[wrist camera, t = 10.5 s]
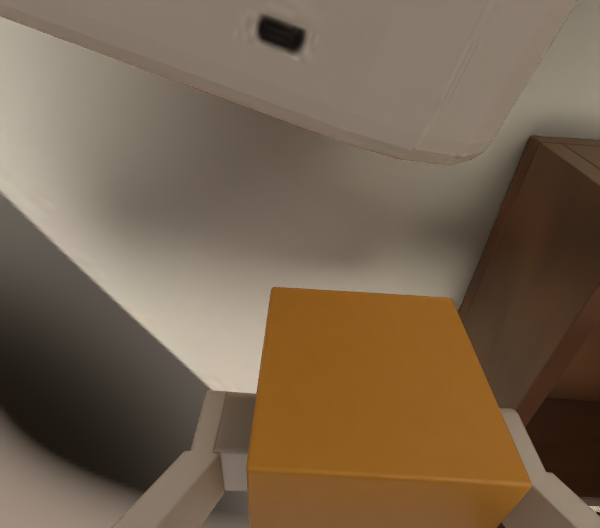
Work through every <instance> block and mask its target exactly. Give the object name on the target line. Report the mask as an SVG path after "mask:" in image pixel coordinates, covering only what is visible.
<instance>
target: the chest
mask: <svg viewBox="0 0 600 528" xmlns="http://www.w3.org/2000/svg"><path fill="white" fill-rule="evenodd" d="M458 314H459V317H460V319H461V321H462V324H463V326H464V328H465V331H466V333H467V335H468V337H469V340H470V342H471V344H472V347H473V349H474V351H475V354H476V356H477V358H478V360H479V363H480V365H481V367H482V370H483V372H484V374H485V377H486V379H487V381H488V383H489V386H490V388H491V390H492V393H493V395H494V397H495V400H496V402H497V404H498V406H499V408H511V409H514V410H515V411H516V412H517V413H518V415H519V417H520V419H521V421H522V423H523V425H524V427H525V429H526V431H527V433H528V436H529V438H530V440H531V442H532V444H533V446H534V448H535V450H536V452H537V454H538V456H539V458H540V460H541V462H542V465H543V467H544V469H545V471H546V472H549V473H553V474H554V475H555V476H556V477H557V478H558V479H560V480H561V481H562V482H563V483H564V484H565V485H566V486H567V487H568V488H569V489H570V490H572V491H573V492H574V493H575V494H576V495H577V496H578V497H579V498H580V499H581V500H582V501H584V502H585V503H586V504H587V505H588V506H600V140H591V139H576V138H561V137H546V136H531V137H530V138H529V141H528V143H527V146H526V148H525V151H524V153H523V156H522V158H521V161H520V163H519V165H518V168H517V170H516V173H515V175H514V178H513V180H512V183H511V185H510V188H509V190H508V193H507V195H506V198H505V200H504V202H503V205H502V207H501V210H500V212H499V215H498V217H497V220H496V222H495V225H494V227H493V230H492V232H491V235H490V237H489V239H488V242H487V244H486V247H485V249H484V252H483V254H482V257H481V259H480V262H479V264H478V267H477V269H476V272H475V274H474V276H473V279H472V281H471V284H470V286H469V289H468V291H467V294H466V296H465V299H464V301H463V304H462V306H461V309H460V311H459V313H458Z"/></svg>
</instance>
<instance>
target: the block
mask: <svg viewBox="0 0 600 528" xmlns="http://www.w3.org/2000/svg"><path fill="white" fill-rule="evenodd" d="M246 473H247V493H248V513H249V528H497V527H498V526H499V524H500V523H501V522H502V521H503V520H504V519H505V517H506V516H507V515H508V514H509V513H510V512H511V510H512V509H513V508H514V507H515V506H516V505H517V503H518V502H519V501H520V500H521V499H522V497H523V496H524V495H525V494H526V493H527V492H528V490H529V489H530V488H531V486H532V484H531V480H530V478H529V476H528V473H527V471H526V469H525V466H524V464H523V462H522V459H521V457H520V455H519V452H518V450H517V448H516V446H515V443H514V441H513V439H512V436H511V434H510V432H509V429H508V427H507V425H506V423H505V420H504V418H503V416H502V413H501V411H500V409H499V406H498V404H497V402H496V400H495V397H494V395H493V393H492V390H491V388H490V386H489V383H488V381H487V379H486V377H485V374H484V372H483V370H482V367H481V365H480V363H479V360H478V358H477V356H476V354H475V351H474V349H473V347H472V344H471V342H470V340H469V337H468V335H467V333H466V331H465V328H464V326H463V324H462V321H461V319H460V317H459V314H458V312H457V310H456V308H455V305H454V303H453V301H452V299H451V298H444V297H428V296H412V295H396V294H380V293H364V292H348V291H332V290H316V289H300V288H284V287H273V288H272V289H271V294H270V301H269V308H268V315H267V322H266V330H265V337H264V344H263V351H262V358H261V365H260V372H259V379H258V386H257V394H256V401H255V408H254V415H253V422H252V429H251V436H250V443H249V450H248V458H247V465H246Z"/></svg>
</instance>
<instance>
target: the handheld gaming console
mask: <svg viewBox="0 0 600 528" xmlns="http://www.w3.org/2000/svg"><path fill="white" fill-rule="evenodd" d="M576 1H577V0H0V16H1V17H4V18H6V19H9V20H12V21H15V22H17V23H20V24H23V25H25V26H28V27H31V28H34V29H36V30H39V31H42V32H44V33H47V34H50V35H53V36H55V37H58V38H61V39H63V40H66V41H69V42H72V43H74V44H77V45H80V46H82V47H85V48H88V49H90V50H93V51H96V52H99V53H101V54H104V55H107V56H109V57H112V58H115V59H118V60H120V61H123V62H126V63H128V64H131V65H134V66H137V67H139V68H142V69H145V70H147V71H150V72H153V73H155V74H158V75H161V76H164V77H166V78H169V79H172V80H174V81H177V82H180V83H183V84H185V85H188V86H191V87H193V88H196V89H199V90H202V91H204V92H207V93H210V94H212V95H215V96H218V97H220V98H223V99H226V100H229V101H231V102H234V103H237V104H239V105H242V106H245V107H248V108H250V109H253V110H256V111H258V112H261V113H264V114H267V115H269V116H272V117H275V118H277V119H280V120H283V121H285V122H288V123H291V124H294V125H296V126H299V127H302V128H304V129H307V130H310V131H313V132H315V133H318V134H321V135H323V136H326V137H329V138H332V139H334V140H337V141H340V142H343V143H346V144H349V145H353V146H356V147H360V148H363V149H366V150H370V151H373V152H377V153H380V154H383V155H387V156H390V157H394V158H397V159H404V160H411V161H418V162H426V163H433V164H441V165H452V164H456V163H460V162H464V161H468V160H472V159H473V158H475V157H476V156H478V155H480V154H481V153H483V151H484V150H485V149H486V148H487V146H488V145H489V144H490V143H491V142H492V140H493V139H494V137H495V135H496V134H497V132H498V130H499V129H500V127H501V125H502V124H503V122H504V120H505V119H506V117H507V115H508V114H509V112H510V110H511V109H512V107H513V105H514V104H515V102H516V100H517V99H518V97H519V96H520V94H521V92H522V91H523V89H524V87H525V86H526V84H527V82H528V81H529V79H530V77H531V76H532V74H533V72H534V71H535V69H536V67H537V66H538V64H539V62H540V61H541V59H542V57H543V56H544V54H545V53H546V51H547V49H548V48H549V46H550V44H551V43H552V41H553V39H554V38H555V36H556V34H557V33H558V31H559V29H560V28H561V26H562V24H563V23H564V21H565V19H566V18H567V16H568V14H569V13H570V11H571V9H572V8H573V6H574V5H575V3H576Z"/></svg>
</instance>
